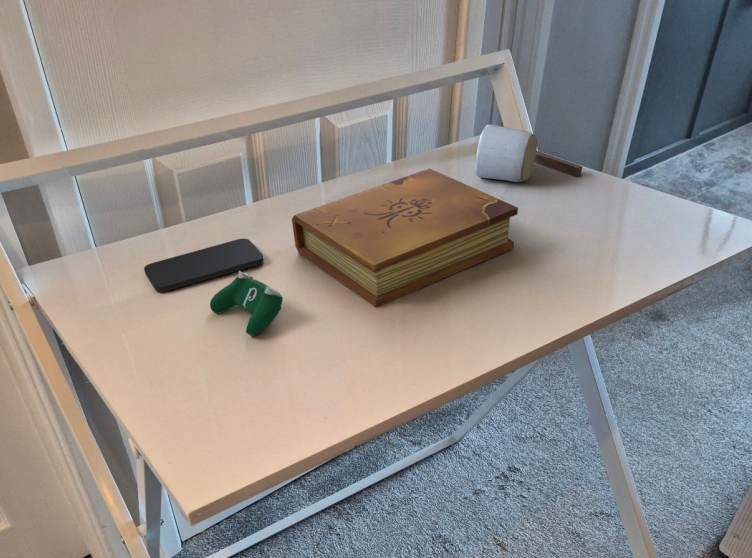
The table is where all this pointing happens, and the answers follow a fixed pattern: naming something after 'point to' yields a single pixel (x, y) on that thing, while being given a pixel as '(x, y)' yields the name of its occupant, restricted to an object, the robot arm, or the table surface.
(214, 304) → the gaming controller
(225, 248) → the phone
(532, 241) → the table surface
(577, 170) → the back rail
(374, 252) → the diary
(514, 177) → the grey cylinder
